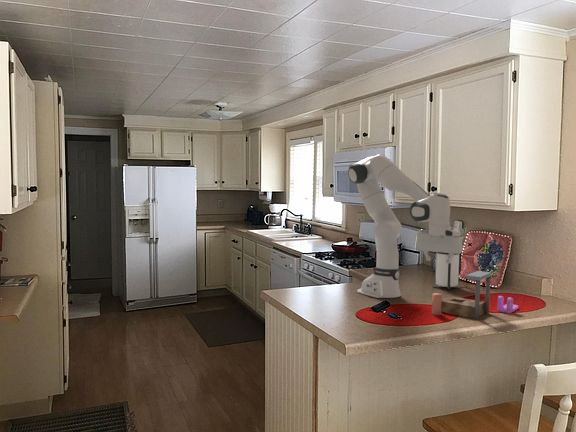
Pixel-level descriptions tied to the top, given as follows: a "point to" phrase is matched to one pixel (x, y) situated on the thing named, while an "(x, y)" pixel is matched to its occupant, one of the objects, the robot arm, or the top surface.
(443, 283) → the coffee press
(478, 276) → the grey legged stand
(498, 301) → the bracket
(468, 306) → the socket block
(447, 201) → the robot arm
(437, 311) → the peg
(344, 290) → the top surface
